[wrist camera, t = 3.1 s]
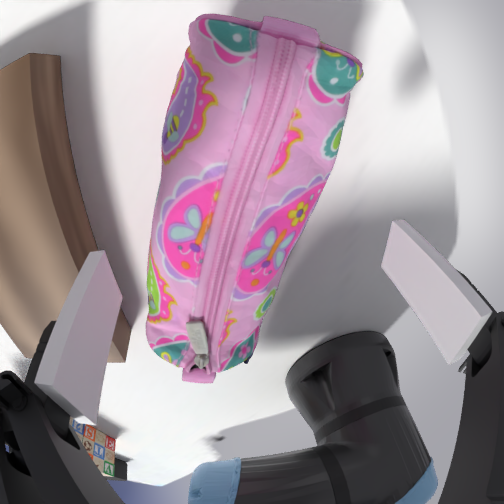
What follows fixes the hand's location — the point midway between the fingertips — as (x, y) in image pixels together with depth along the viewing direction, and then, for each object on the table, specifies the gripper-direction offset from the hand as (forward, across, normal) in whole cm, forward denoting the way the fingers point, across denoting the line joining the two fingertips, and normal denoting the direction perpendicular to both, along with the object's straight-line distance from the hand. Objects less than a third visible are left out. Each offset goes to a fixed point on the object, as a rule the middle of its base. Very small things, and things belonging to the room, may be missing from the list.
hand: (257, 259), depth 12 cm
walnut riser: (+9, +18, +1) cm, 20 cm away
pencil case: (+9, +1, 0) cm, 9 cm away
